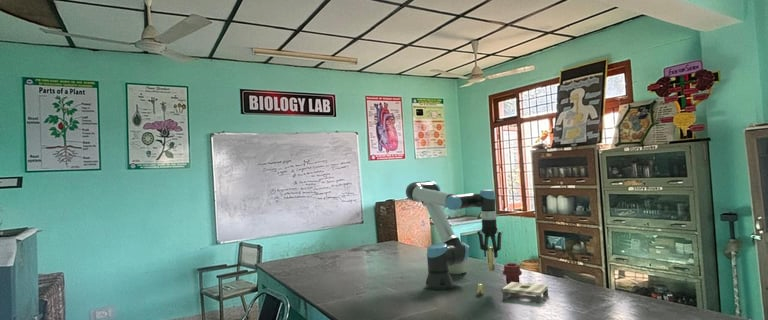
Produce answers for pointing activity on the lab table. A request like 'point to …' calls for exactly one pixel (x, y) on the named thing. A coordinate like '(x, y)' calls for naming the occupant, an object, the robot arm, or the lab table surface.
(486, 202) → the robot arm
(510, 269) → the mechanical component
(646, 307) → the lab table surface
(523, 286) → the stand
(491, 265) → the long pin
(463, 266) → the canister
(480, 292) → the short pin
